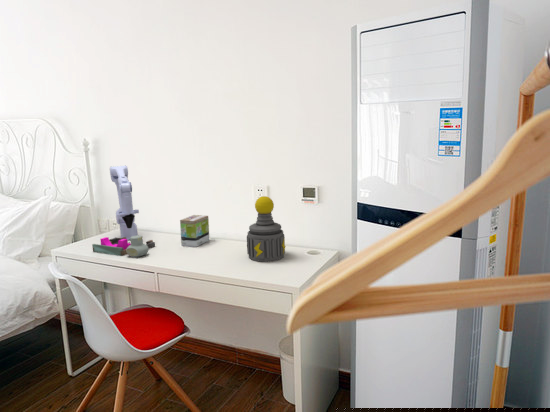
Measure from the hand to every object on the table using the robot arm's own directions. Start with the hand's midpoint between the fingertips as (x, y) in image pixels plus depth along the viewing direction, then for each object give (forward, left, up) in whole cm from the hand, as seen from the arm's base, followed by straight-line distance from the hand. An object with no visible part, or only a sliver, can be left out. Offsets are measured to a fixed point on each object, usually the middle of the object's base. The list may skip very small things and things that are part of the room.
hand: (129, 228), depth 240 cm
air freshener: (+15, +20, -10) cm, 27 cm away
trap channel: (+7, +2, -9) cm, 12 cm away
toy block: (+14, +4, -10) cm, 17 cm away
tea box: (-15, +34, -10) cm, 38 cm away
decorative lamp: (-7, +83, -10) cm, 84 cm away
